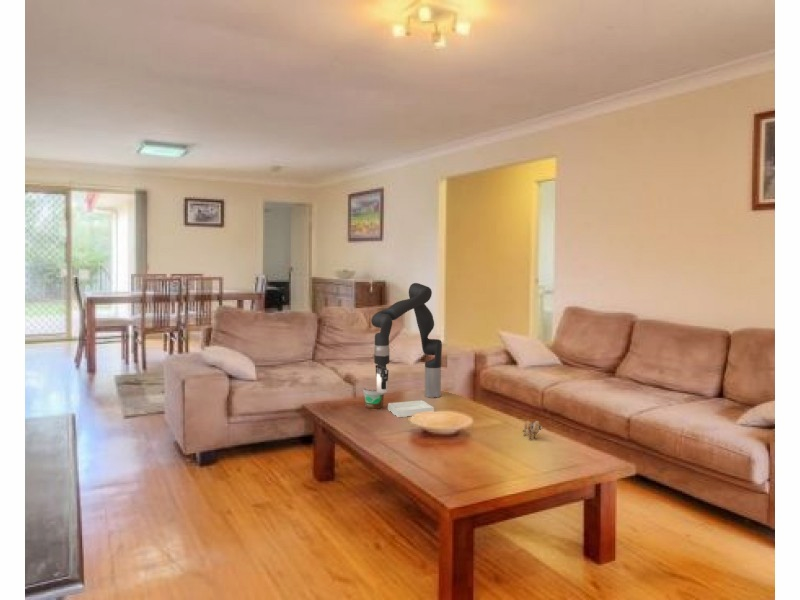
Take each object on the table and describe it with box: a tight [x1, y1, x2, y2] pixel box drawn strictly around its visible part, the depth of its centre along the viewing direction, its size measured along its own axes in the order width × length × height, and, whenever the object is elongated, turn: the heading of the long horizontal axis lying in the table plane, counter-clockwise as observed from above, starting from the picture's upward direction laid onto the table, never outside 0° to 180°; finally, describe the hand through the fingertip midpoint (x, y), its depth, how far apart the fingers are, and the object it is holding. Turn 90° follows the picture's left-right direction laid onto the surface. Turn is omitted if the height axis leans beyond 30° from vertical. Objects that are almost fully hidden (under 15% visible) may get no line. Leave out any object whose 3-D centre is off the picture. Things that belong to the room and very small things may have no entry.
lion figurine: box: [522, 420, 544, 442], centre depth 249 cm, size 15×5×9 cm, turn 15°
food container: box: [362, 387, 386, 410], centre depth 295 cm, size 12×6×10 cm, turn 68°
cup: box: [376, 373, 388, 394], centre depth 275 cm, size 5×5×9 cm
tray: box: [387, 399, 435, 418], centre depth 289 cm, size 16×20×4 cm
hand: (381, 387), depth 275 cm, fingers closed on cup, 5 cm apart
